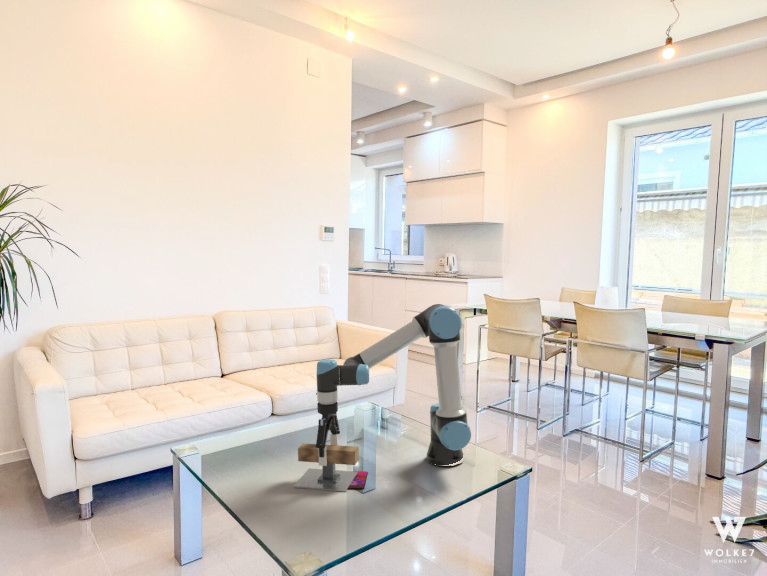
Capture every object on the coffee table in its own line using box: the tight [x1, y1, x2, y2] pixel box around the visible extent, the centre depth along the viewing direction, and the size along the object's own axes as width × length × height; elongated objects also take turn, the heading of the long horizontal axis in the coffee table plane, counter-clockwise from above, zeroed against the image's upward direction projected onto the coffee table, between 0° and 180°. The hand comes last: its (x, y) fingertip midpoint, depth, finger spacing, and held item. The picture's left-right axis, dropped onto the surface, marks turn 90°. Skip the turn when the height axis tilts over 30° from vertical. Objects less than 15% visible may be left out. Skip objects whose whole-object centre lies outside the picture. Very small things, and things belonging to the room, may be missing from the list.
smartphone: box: [347, 470, 369, 491], centre depth 180 cm, size 8×1×15 cm
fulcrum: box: [292, 463, 358, 493], centre depth 180 cm, size 20×16×8 cm
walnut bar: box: [297, 443, 360, 466], centre depth 180 cm, size 22×5×5 cm, turn 78°
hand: (328, 458), depth 180 cm, fingers open, 13 cm apart
